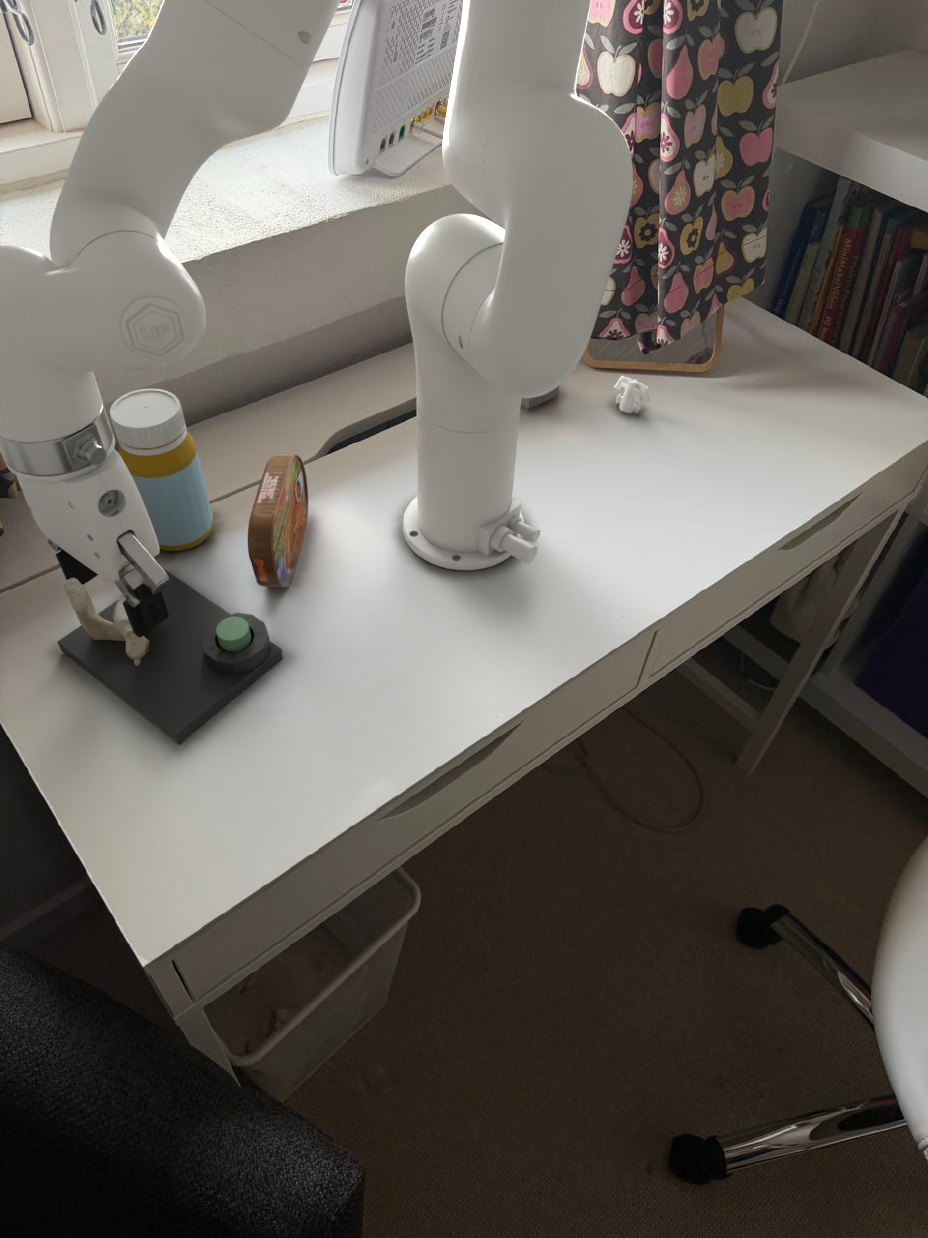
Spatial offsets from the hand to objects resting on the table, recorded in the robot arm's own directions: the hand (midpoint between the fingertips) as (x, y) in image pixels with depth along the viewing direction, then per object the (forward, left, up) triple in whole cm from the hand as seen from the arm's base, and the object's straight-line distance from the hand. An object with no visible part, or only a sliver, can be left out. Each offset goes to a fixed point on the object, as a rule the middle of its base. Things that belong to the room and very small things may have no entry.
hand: (118, 601), depth 75 cm
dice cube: (-4, -57, -7) cm, 57 cm away
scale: (-3, -2, -6) cm, 7 cm away
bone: (0, 0, -5) cm, 5 cm away
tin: (-1, -18, -7) cm, 19 cm away
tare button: (-8, -5, -4) cm, 10 cm away
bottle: (+9, -13, -7) cm, 17 cm away
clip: (-15, -62, -7) cm, 64 cm away
